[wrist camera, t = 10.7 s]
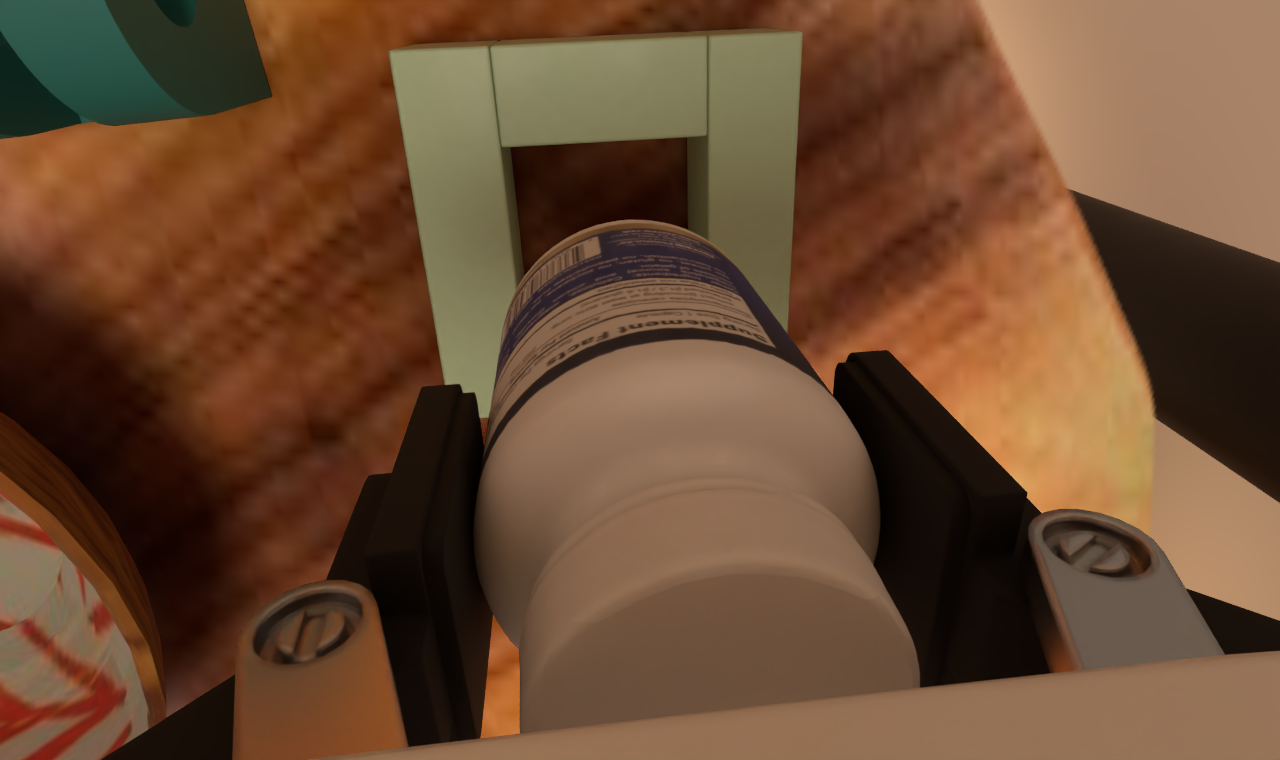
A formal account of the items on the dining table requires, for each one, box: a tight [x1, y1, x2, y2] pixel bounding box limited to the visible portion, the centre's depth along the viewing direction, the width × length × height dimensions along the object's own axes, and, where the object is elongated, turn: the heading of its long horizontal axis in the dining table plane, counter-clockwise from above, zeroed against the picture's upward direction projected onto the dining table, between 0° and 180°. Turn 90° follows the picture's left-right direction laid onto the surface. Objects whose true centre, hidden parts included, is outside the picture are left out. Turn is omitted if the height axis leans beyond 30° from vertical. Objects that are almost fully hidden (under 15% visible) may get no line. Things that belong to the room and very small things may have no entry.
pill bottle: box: [473, 220, 920, 734], centre depth 12 cm, size 5×5×10 cm
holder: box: [389, 28, 803, 418], centre depth 24 cm, size 11×11×4 cm
